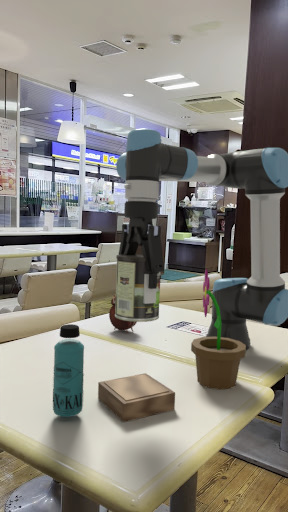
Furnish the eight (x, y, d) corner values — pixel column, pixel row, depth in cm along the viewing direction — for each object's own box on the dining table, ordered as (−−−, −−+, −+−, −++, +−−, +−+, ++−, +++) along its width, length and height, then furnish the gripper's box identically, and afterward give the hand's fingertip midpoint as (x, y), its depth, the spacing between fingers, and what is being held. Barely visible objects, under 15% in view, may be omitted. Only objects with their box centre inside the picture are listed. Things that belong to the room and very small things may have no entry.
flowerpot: (187, 370, 120) (192, 265, 118) (238, 372, 120) (244, 267, 117) (192, 391, 106) (197, 272, 103) (249, 394, 106) (256, 274, 103)
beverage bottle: (54, 410, 94) (55, 321, 92) (84, 409, 94) (86, 321, 93) (50, 424, 87) (51, 329, 86) (82, 424, 88) (84, 329, 86)
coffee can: (162, 314, 102) (165, 255, 100) (154, 324, 91) (157, 259, 90) (121, 310, 104) (123, 252, 102) (108, 319, 94) (110, 256, 92)
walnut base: (145, 388, 107) (145, 372, 107) (174, 409, 96) (175, 391, 96) (98, 398, 100) (98, 381, 100) (123, 422, 89) (124, 403, 89)
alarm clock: (138, 332, 158) (139, 292, 157) (131, 335, 154) (132, 294, 153) (115, 327, 164) (115, 289, 163) (107, 330, 160) (108, 290, 159)
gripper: (105, 200, 103) (102, 291, 105) (152, 198, 84) (148, 309, 86) (132, 202, 107) (129, 289, 109) (184, 200, 87) (179, 307, 89)
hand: (137, 298), depth 97 cm, fingers closed on coffee can, 10 cm apart
